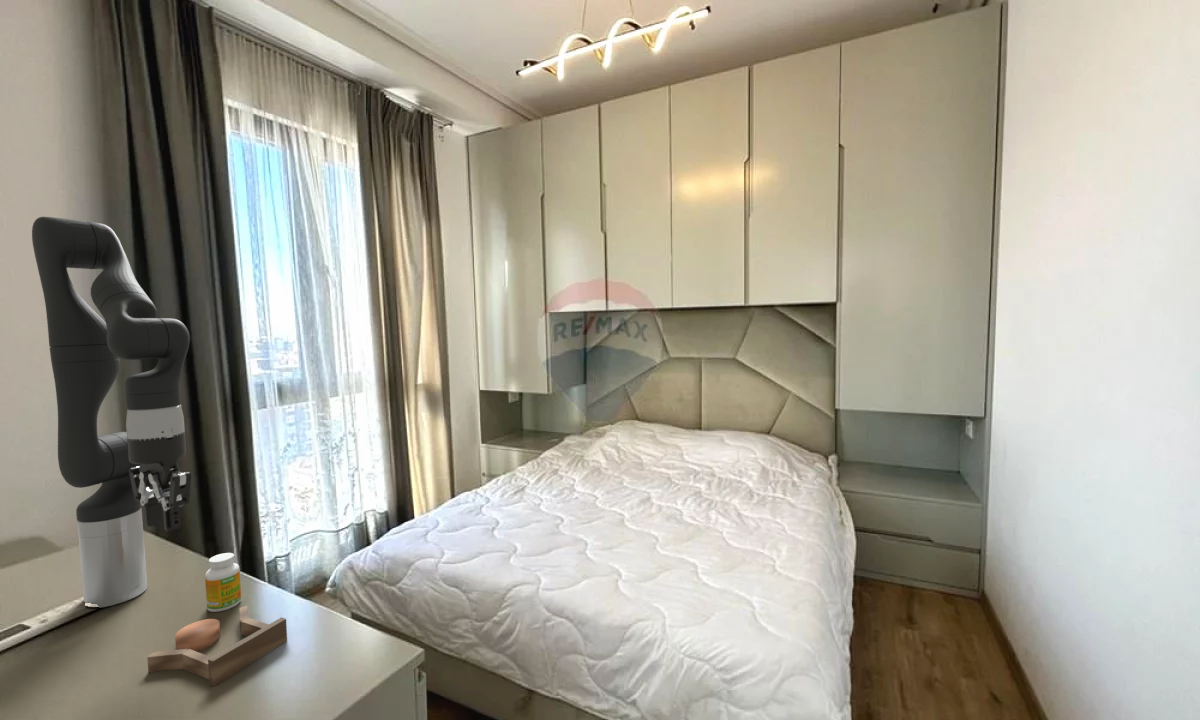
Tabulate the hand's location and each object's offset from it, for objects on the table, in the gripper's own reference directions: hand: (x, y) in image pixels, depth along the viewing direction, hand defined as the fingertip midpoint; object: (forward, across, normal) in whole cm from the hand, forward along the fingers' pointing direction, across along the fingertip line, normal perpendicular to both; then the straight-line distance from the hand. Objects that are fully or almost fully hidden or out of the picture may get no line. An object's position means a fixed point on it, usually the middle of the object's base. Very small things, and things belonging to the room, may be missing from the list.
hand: (163, 526), depth 87 cm
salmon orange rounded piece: (+20, +8, 0) cm, 21 cm away
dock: (+20, +15, 0) cm, 25 cm away
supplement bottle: (+20, 0, +9) cm, 22 cm away
